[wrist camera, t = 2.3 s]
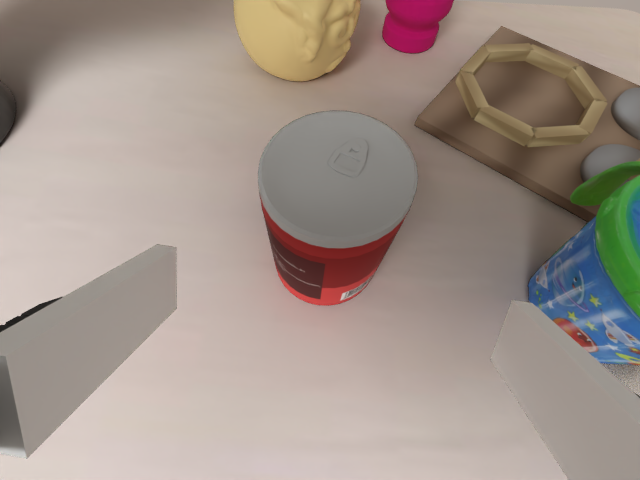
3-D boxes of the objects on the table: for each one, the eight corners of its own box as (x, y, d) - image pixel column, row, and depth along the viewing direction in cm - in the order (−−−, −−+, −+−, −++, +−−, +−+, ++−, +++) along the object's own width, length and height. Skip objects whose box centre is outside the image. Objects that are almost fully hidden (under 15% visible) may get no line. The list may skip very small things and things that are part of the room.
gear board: (414, 125, 32) (426, 95, 29) (497, 34, 39) (513, 2, 36) (643, 252, 26) (689, 233, 23) (688, 119, 34) (727, 90, 31)
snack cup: (497, 209, 28) (591, 116, 19) (622, 232, 27) (782, 148, 18) (509, 409, 21) (669, 417, 12) (678, 446, 20) (984, 484, 11)
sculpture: (323, 112, 32) (330, -11, 22) (223, 72, 34) (191, -57, 25) (368, 50, 37) (390, -73, 27) (278, 18, 39) (269, -107, 29)
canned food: (381, 226, 26) (427, 124, 17) (364, 321, 23) (409, 262, 13) (292, 206, 27) (285, 95, 17) (262, 295, 23) (231, 219, 14)
